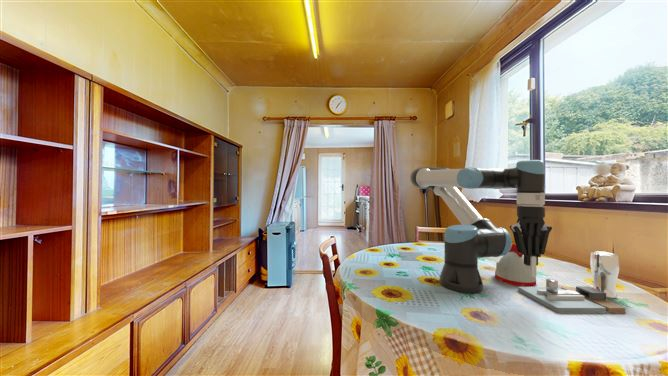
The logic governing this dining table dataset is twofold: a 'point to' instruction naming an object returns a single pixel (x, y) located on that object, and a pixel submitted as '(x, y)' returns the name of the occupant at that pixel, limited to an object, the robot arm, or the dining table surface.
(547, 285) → the steel bolt
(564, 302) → the door lock board
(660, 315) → the dining table surface
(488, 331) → the dining table surface
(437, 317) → the dining table surface
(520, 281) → the kitchen timer
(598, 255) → the beer glass
